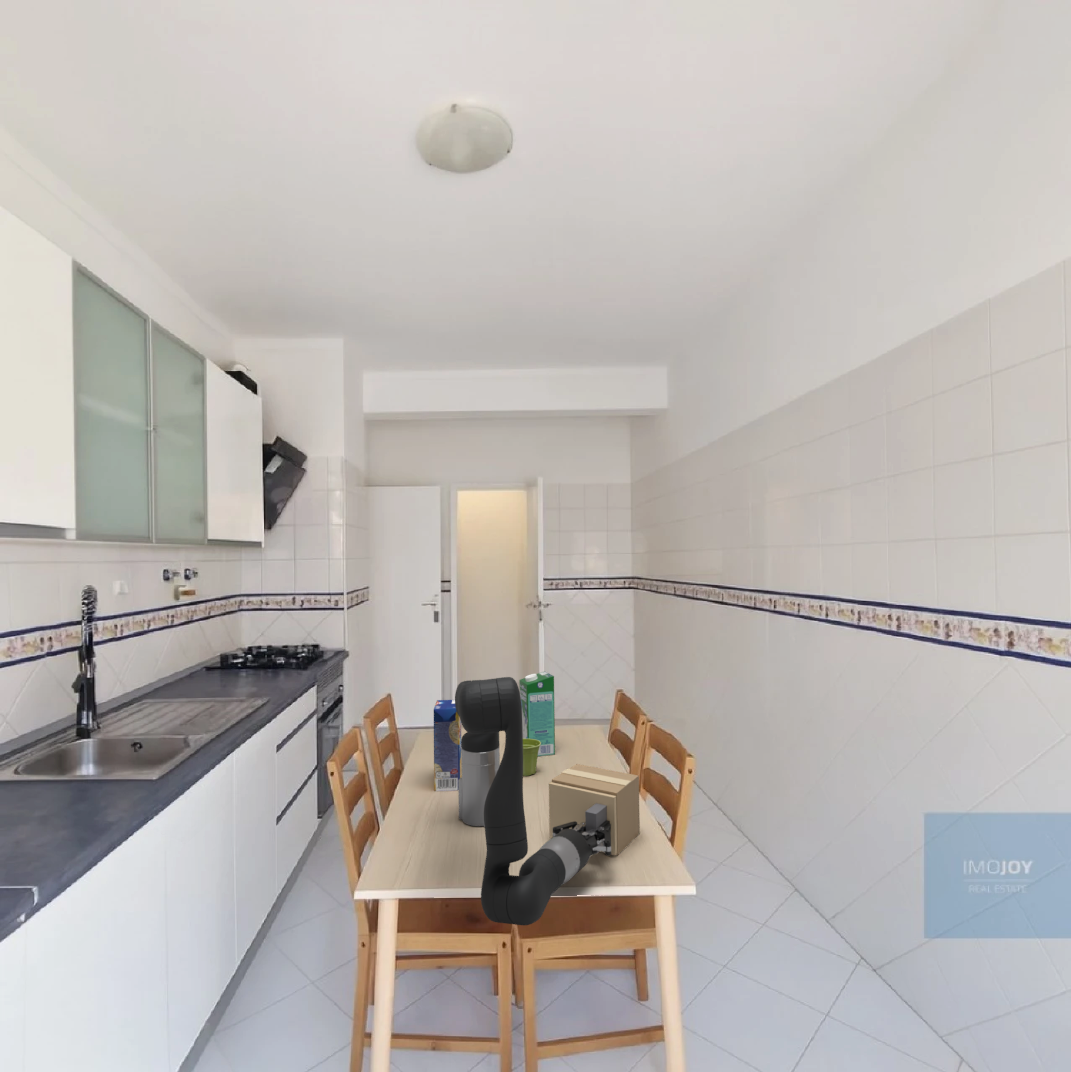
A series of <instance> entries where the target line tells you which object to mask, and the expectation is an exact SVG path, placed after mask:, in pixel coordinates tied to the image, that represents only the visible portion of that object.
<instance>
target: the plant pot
mask: <svg viewBox="0 0 1071 1072" xmlns="http://www.w3.org/2000/svg"><path fill="white" fill-rule="evenodd" d="M540 745H541V742H540V741H539V740H536V739H523V777H529V776H532V775H535V774H536V772H537V763H538V757H539V756H538V750H539V747H540Z"/></svg>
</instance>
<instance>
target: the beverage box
mask: <svg viewBox="0 0 1071 1072" xmlns="http://www.w3.org/2000/svg"><path fill="white" fill-rule="evenodd" d="M461 740H462V723H461V720H460V717H459V716H458V714H457V711H456V707H455V699H437V700H436V703H435V705H434V708H433V791H434V792H447V791H449V792H452V791H459V790H458V780H459V779H460V778H461V777H462V747H461Z"/></svg>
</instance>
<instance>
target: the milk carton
mask: <svg viewBox="0 0 1071 1072" xmlns="http://www.w3.org/2000/svg"><path fill="white" fill-rule="evenodd" d="M518 684H519V691H520V697H521V705H522V726H523V739H536V740H539V741H540V742H541V745H540V747H539V750H538V757H544V756H545V757H546V756H552V755H556V735H555V734H556V733H555V732H556V731H555V730H556V729H555V728H556V727H555V726H556V725H555V721H556V719H555V676H554V675H553V674H552V673H551V674H550V672H548V671H545V670H544V671H541V672H538V673H531V674H528V675H526V676H525V677H524V678H521V679H519V683H518Z"/></svg>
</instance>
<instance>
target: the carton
mask: <svg viewBox="0 0 1071 1072" xmlns="http://www.w3.org/2000/svg"><path fill="white" fill-rule="evenodd" d="M551 782H553V783H558V784H562V785H567V786H572V787H576V788H581V789H586V790H590V791H595V792H600V793H604V794H609V795H614V796H616V813H617V854H616V855H615V856H619V855H620V854H621V853H622V852H623V851H624V850H625V849H626V847H628V846H629V844H631V843H632V842H633V841H634V840H635V839H636V838H637V837H638V836H639V835H640V830H641V829H640V827H641V826H640V823H641V822H640V776H639V775H636V774H634V773H627V772H626V773H625V772H621V771H616V770H611V769H605V768H601V767H595V766H589V765H584V764H581V763H580V764H579V763H576V764H574V765H573V766H571V767H570V768H566V769H564V770H562V771H561V772H560V774H558V775H557V776H555V777H553V778H552V779H551Z"/></svg>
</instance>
